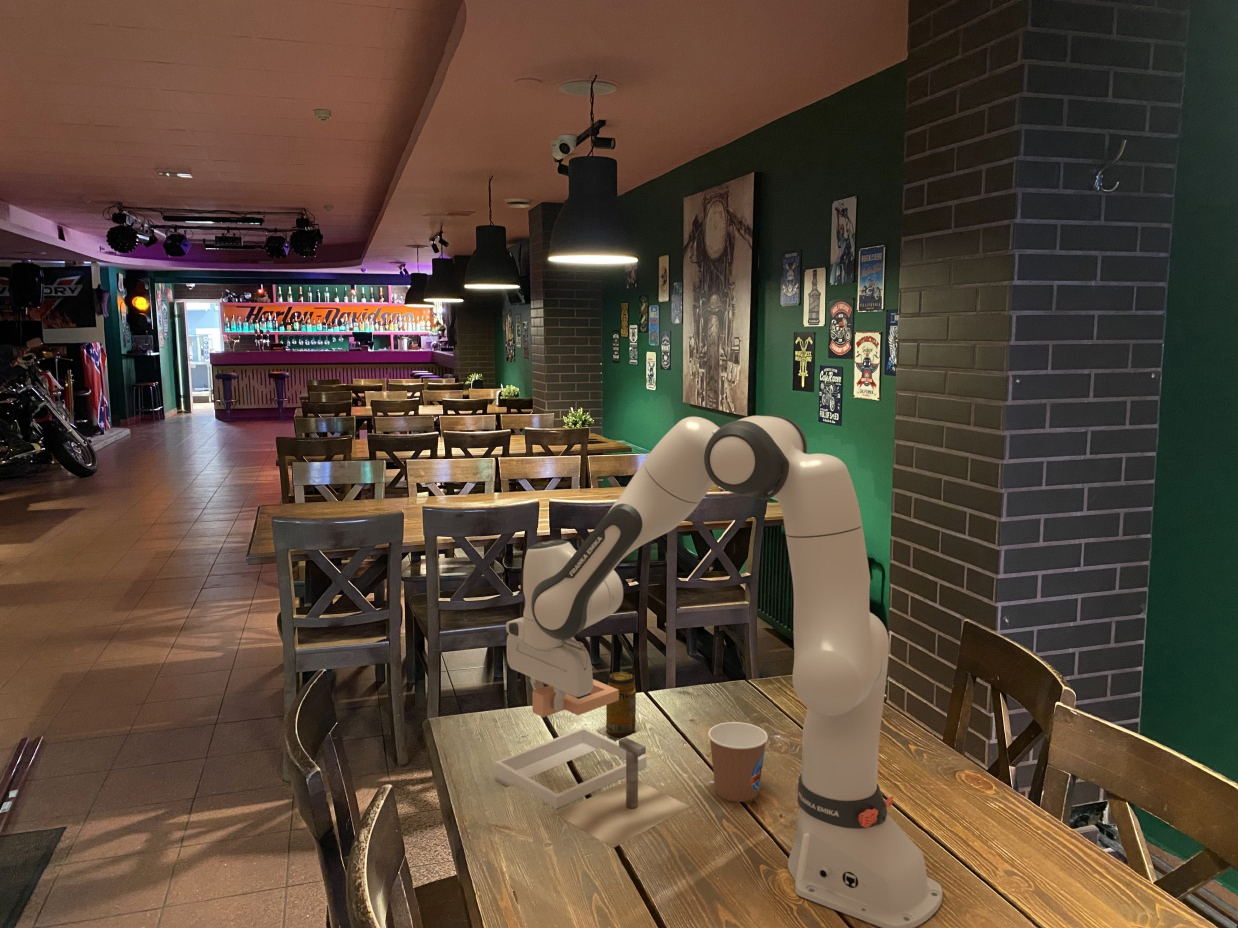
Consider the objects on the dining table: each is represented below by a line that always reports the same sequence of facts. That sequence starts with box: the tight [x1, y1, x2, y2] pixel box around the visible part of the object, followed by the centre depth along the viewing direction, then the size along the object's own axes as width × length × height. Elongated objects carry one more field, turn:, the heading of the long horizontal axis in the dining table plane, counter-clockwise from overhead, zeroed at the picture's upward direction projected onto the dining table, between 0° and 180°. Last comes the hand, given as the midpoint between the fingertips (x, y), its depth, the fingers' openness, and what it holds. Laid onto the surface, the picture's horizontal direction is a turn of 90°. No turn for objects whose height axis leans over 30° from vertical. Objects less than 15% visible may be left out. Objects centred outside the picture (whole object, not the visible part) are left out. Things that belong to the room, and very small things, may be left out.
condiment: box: [596, 671, 642, 742], centre depth 181 cm, size 7×8×12 cm
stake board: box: [555, 737, 691, 849], centre depth 148 cm, size 14×18×13 cm
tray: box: [494, 726, 647, 809], centre depth 163 cm, size 18×22×4 cm
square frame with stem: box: [531, 679, 619, 718], centre depth 161 cm, size 10×15×4 cm, turn 134°
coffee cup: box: [707, 721, 769, 803], centre depth 155 cm, size 10×10×12 cm
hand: (549, 705), depth 158 cm, fingers closed on square frame with stem, 3 cm apart
